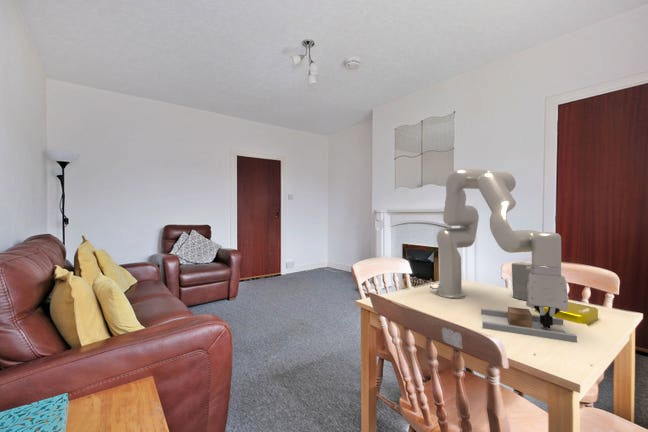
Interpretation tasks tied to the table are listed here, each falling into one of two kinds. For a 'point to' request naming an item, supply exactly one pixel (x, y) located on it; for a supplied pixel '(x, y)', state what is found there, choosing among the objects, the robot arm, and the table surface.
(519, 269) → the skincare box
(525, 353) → the table surface
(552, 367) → the table surface
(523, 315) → the walnut block
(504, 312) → the grey rail tray
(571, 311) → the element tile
